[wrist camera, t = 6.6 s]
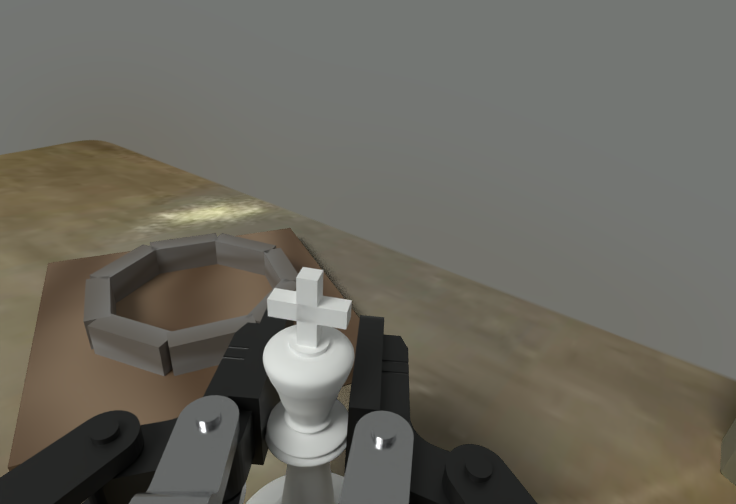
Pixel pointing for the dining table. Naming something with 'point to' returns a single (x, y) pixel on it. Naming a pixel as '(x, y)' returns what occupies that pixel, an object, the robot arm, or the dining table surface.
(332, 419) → the chess piece
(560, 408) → the dining table surface
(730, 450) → the valve
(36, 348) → the board
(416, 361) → the dining table surface
